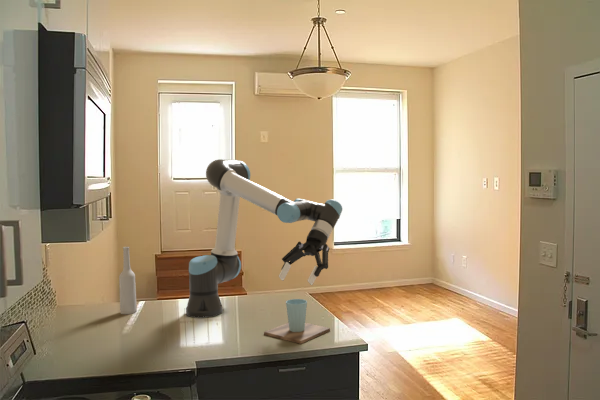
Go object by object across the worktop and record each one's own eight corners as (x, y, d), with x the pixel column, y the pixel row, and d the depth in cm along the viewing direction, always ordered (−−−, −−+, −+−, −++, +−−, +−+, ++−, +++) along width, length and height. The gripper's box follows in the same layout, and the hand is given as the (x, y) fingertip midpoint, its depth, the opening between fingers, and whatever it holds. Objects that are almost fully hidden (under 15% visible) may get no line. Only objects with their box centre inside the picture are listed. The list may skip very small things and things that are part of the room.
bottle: (137, 313, 209) (134, 247, 207) (120, 315, 206) (118, 248, 205) (136, 309, 215) (133, 245, 214) (119, 311, 212) (117, 246, 211)
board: (264, 334, 177) (264, 331, 177) (293, 322, 191) (293, 320, 190) (301, 343, 167) (301, 340, 167) (330, 330, 180) (329, 328, 180)
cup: (301, 325, 184) (300, 297, 183) (311, 330, 177) (311, 302, 177) (283, 328, 180) (282, 300, 180) (293, 334, 174) (292, 305, 173)
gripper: (350, 243, 183) (327, 291, 172) (298, 238, 198) (274, 282, 188) (342, 230, 178) (318, 278, 167) (289, 226, 194) (264, 270, 183)
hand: (294, 280), depth 177 cm, fingers open, 13 cm apart
